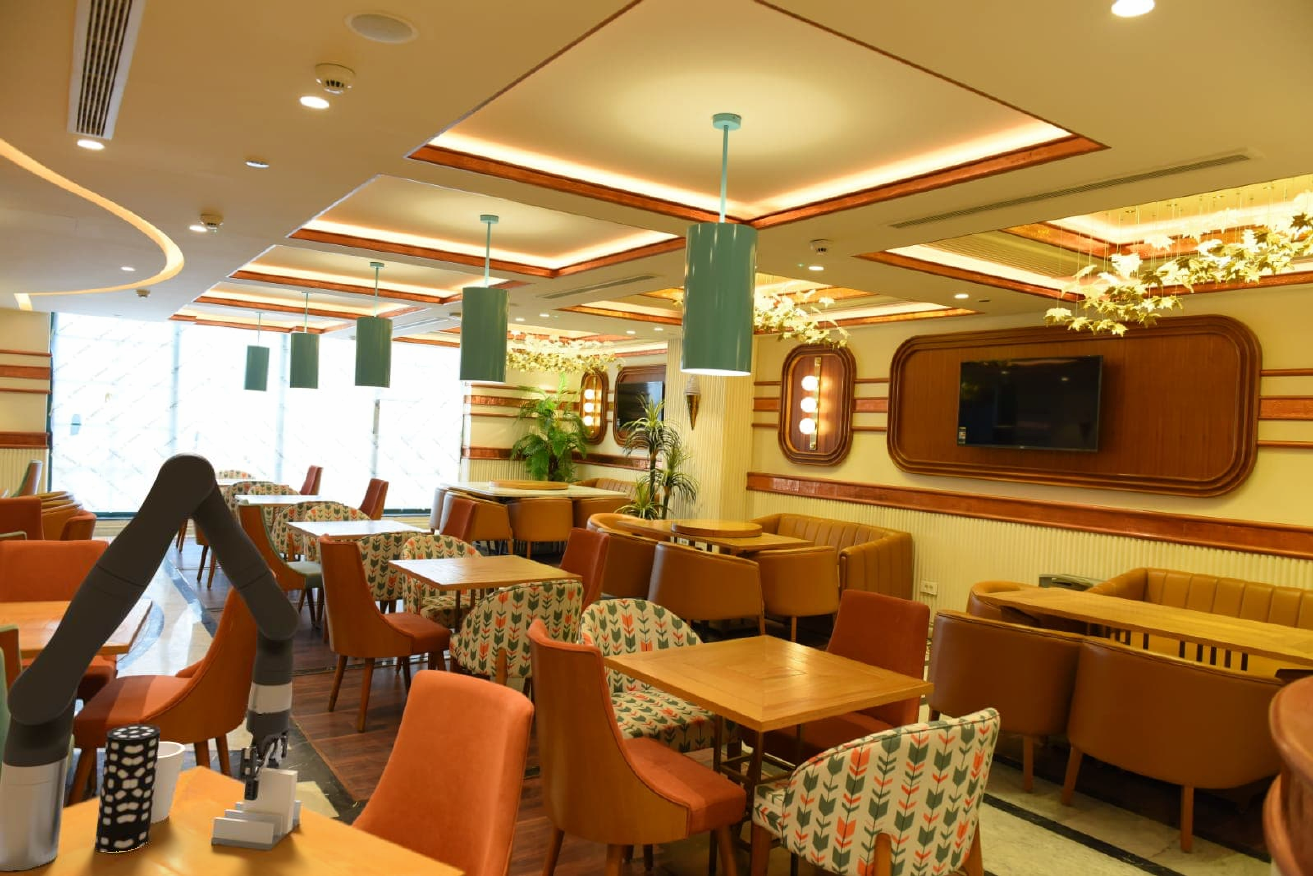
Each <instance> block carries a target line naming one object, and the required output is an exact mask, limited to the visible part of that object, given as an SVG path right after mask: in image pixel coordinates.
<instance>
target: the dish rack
mask: <svg viewBox="0 0 1313 876" xmlns="http://www.w3.org/2000/svg"><path fill="white" fill-rule="evenodd" d="M301 804H302V800H297V799H295V804H294V814H293V824H292V830H294V829H295V828H296V827H297V826H298V825H299V824H300V821H301V820H300V819H301V818H300V813H301V806H302V805H301ZM282 825H283V816H282V815H273V814H264V813H256V812H247V811H243V802H242V801H236V802H235V803H234V809H228V808H227V809H226V810H224V817H218V816H216V817H214V820H213V829H212V837H211V839H210V844H211V843H213V844H212V845H218V844H221V845H220V846H228V847H237V848H243V849H244V848H246V849H254V850H261V851H262V850H264V851H270V850H272V849H273V847H275V846H276V845H277V844H278V843H279V842H280V841H281V840H283V839H284V838H285V837H286V836H287V835H288V834H289V833H290V832H291V831H292V830H290V831H289V832H288V833H282ZM215 843H216V844H215Z"/></svg>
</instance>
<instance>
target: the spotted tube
mask: <svg viewBox="0 0 1313 876" xmlns="http://www.w3.org/2000/svg"><path fill="white" fill-rule="evenodd" d="M160 735H161V728H160V727H158V726H154V725H150V724H132V725H130V724H129V725H123V726H118V727H115V728H113V729H110V730H109V731H108V732H107V733H106V740H105V748H104V749H105V750H104V758H103V768H102V777H101V778H102V779H101V787H100V796H99V805H98V806H99V807H98V814H97V823H96V832H95V833H96V834H95V843H94V849H95V848H96V849H97V850H98V851H97V850H96V849H95V850H96V851H97V852H99V851H104V852H116V851H117V852H119V851H128V850H131V849H135V848H137V847H141V848H143V847H144V846H143V845H144V844H146V842H148V843H149V841H150V830H151V824H150V823H151V814H152V805H153V795H154V786H155V776H156V767H157V758H158V748H159V742H160V739H161V738H160V737H161V736H160ZM148 840H149V841H148ZM146 845H147V844H146ZM142 846H143V847H142Z"/></svg>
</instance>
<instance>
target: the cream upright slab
mask: <svg viewBox="0 0 1313 876" xmlns="http://www.w3.org/2000/svg"><path fill="white" fill-rule="evenodd" d="M256 770H257V767H256ZM255 773H256V771H255ZM298 773H299V772H298V770H292V769H291V770H290V769H281V768H279V769H273V768H266V767H265V768H263V769H262V771H261V774H260V777H259V788H258V797H257V799H255V800H254V801H252V800H245V798H244V797H243V802H242V803H243V811H247V812H256V813H264V814H273V815H282V816H283V825H282V833H288V832H289V831H290V830H291V831H292V830H293V829H292V824H293V814H294V804H295V800H296V793H297V792H296V791H297V783H298V782H297V781H298ZM244 783H245V784H246V781H245V782H244ZM245 784H244V785H245ZM244 794H245V791H244V793H243V795H244ZM291 831H290V832H291ZM290 832H289V833H290ZM289 833H288V834H289Z"/></svg>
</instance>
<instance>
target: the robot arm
mask: <svg viewBox="0 0 1313 876" xmlns="http://www.w3.org/2000/svg"><path fill="white" fill-rule="evenodd" d="M216 477H217V476H216V471H215V469H214V466H213V465H212V463H211V462H210V461H209V460H208V459H207V458H206V457H205V456H203V455H201V454H198V453H194V452H180V453H178V454H175V455H173V456H171V457H170V458H168V459H167V460H166V461H165V462H163V464H162V465H161V467H160V469H159V470H158V473H157V475H156V478H155V480H154V482H153V484H152V486H151V488H150V490H149V492H148V493H147V495H146V497H145V499H144V500H143V502H142V504H141V506H140V507H139V509H138V510H137V512H136V513H135V515H134V516H133V518H132V519H131V520H130V521H129V522H128V524H126V526H125V527H124V528H123V529H122V530H121V531H120V532H119V534H117V535H116V537H114V539H113V540H111V542H110V543H109V545H108V546H107V547H106V548H105V549H104V551H103V552H102V553H101V554H100V556H99V557H98V559H96V561H95V562H94V565H93V566H92V568H91V569H90V570H89V571H88V573H87V574H86V576H85V578H84V579H83V581H82V582H81V584H80V585H79V587H78V589H77V590H76V592H75V594H74V595H73V598H72V599H71V600H70V603H69V604H68V606H67V609H66V610H65V612H64V614H63V616H62V618H61V620H60V622H59V624H58V625H57V628H56V630H55V632H54V633H53V635H52V636H51V637H50V639H49V641H48V642H47V643H46V645H45V646H44V647H43V649H42V650H41V651H40V652H39V654H38V655H37V656H36V657H35V658H34V659H33V661H32V662H31V664H29V665H28V666H26V667H25V668H23V670H21V672H20V673H18V675H17V677H16V678H15V679H14V681H13V682H12V683H11V685H10V687H9V690H8V692H7V694H6V695H7V696H6V697H7V698H6V705H7V710H8V713H9V714H10V717H9V725H8V729H7V734H6V739H5V742H4V745H3V753H2V762H1V763H2V764H1V771H0V772H1V773H0V871H3V872H14V871H13V870H20V871H25V870H30V869H34V868H33V867H35V868H37V867H36V866H38V867H40V866H39V865H41V866H43V864H44V865H46V864H48V863H50V862H52V861H53V860H54V859H56V857H58V854H59V853H58V852H59V844H60V836H61V835H60V834H61V827H62V817H63V808H64V801H65V800H64V799H65V791H66V789H65V788H66V781H67V770H68V763H69V754H70V753H69V752H70V746H71V745H70V744H71V740H72V735H73V729H74V720H75V715H76V714H75V712H76V705H77V697H78V687H79V685H80V683H81V682H82V679H83V678H84V675H85V674H86V673H87V670H88V669H89V666H90V665H91V664H92V661H93V660H94V658H95V657H96V655H97V654H98V653H99V651H100V650H101V649H102V648H103V647H104V645H105V644H106V643H107V642H108V640H110V638H111V637H112V636H113V634H114V633H115V632H116V631H117V629H118V628H120V626H121V625H122V623H123V622H124V621H125V620H126V618H127V617H128V616H129V614H130V613H131V611H132V610H134V608H135V606H136V605H137V603H138V602H139V601H140V599H141V598H142V596H143V595H144V593H145V592H146V590H147V588H148V587H149V585H150V584H151V582H152V581H153V579H154V578H155V576H156V574H157V573H158V570H159V568H160V566H161V564H162V562H163V561H164V559H165V557H166V555H167V553H168V550H169V548H170V546H171V544H172V543H173V541H174V539H175V537H176V535H177V534H178V533H179V531H180V530H181V528H182V527H183V526H184V524H185V523H186V522H187V521H188V519H189V518H191V520H192V521H193V522H194V523H195V525H196V526H197V528H198V529H199V531H200V532H201V534H202V535H203V537H204V539H205V541H206V542H207V544H208V546H209V548H210V550H211V553H212V555H213V556H214V558H215V560H216V561H217V563H218V565H219V567H220V568H221V570H222V572H223V573H224V575H225V577H226V578H227V579H228V582H229V583H230V584H231V585H232V587H233V589H234V590H235V592H236V594H237V595H238V596H239V597H240V598H241V599H242V600H243V602H244V603H245V605H246V607H247V609H248V611H249V613H250V614H251V616H252V618H253V619H254V622H255V623H256V626H257V627H256V654H255V658H254V661H253V670H252V671H253V672H252V681H251V686H250V691H249V694H248V706H247V715H246V725H245V730H246V731H247V732H248V733H250V735H252V739H251V743H250V746H243V747H242V748H241V752H240V762H239V772H238V773H239V774H238V779H239V780H241V781H245V782H246V784H244V792H245V794H244V793H243V799H244V798H245V800H252V801H254V800H255V799H257V797H258V788H259V777H260V774H261V771H262V769H263V768H273V769H280V765H281V764H282V761H283V759H285V758H286V757H287V753H288V744H289V737H290V727H289V726H290V719H291V718H290V717H291V711H292V710H291V709H292V708H291V707H292V699H293V675H294V666H295V665H294V661H295V658H294V657H295V656H294V651H293V647H294V640H295V639H294V638H295V633H296V632H297V631H298V628H299V626H300V622H301V621H300V619H301V618H300V614H299V611H298V609H297V608H296V606H295V604H294V603H293V602H292V601H290V599H289V598H288V596H287V595H286V593H285V592H284V591H283V589H282V588H281V586H280V584H278V580H277V578H276V576H275V575H274V572H273V571H272V568H270V565H269V564H268V563H267V562H266V559H265V558H264V556H263V555H262V554H261V552H260V550H259V549H258V547H257V546H256V545H255V542H254V541H252V539H251V537H249V535H248V533H247V532H246V530H244V527H242V525H241V524H240V523H239V521H238V520H237V519H236V517H235V514H233V512H232V510H231V508H230V507H229V505H228V503H227V501H226V499H225V496H223V493H222V491H221V488H220V486H219V483H218V481H217V478H216ZM256 767H257V770H256ZM255 771H256V773H255ZM49 861H50V862H49ZM47 862H48V863H47ZM45 863H46V864H45Z"/></svg>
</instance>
